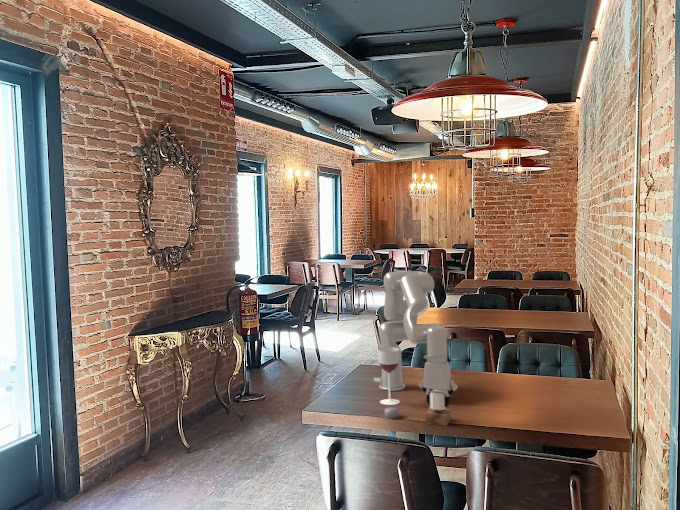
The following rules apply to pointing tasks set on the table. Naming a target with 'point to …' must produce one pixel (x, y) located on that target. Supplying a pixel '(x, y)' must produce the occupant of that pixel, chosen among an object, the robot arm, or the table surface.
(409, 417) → the table surface
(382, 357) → the wineglass
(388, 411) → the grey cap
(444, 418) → the post base
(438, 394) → the cream cap
